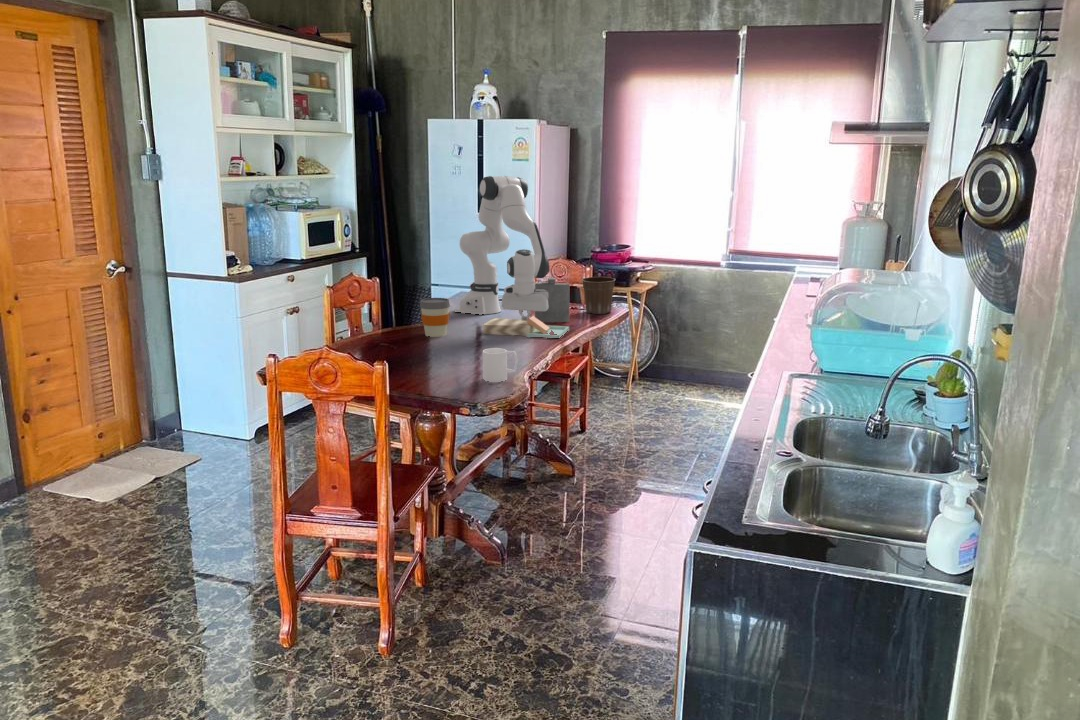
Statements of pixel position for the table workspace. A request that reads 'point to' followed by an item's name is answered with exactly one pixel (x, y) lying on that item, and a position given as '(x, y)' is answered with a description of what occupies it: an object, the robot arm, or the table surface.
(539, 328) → the salmon pink block
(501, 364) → the cup
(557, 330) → the tray
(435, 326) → the reusable coffee cup
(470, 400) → the table surface
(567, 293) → the hip flask
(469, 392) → the table surface
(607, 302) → the plant pot
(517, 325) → the beige flat block
